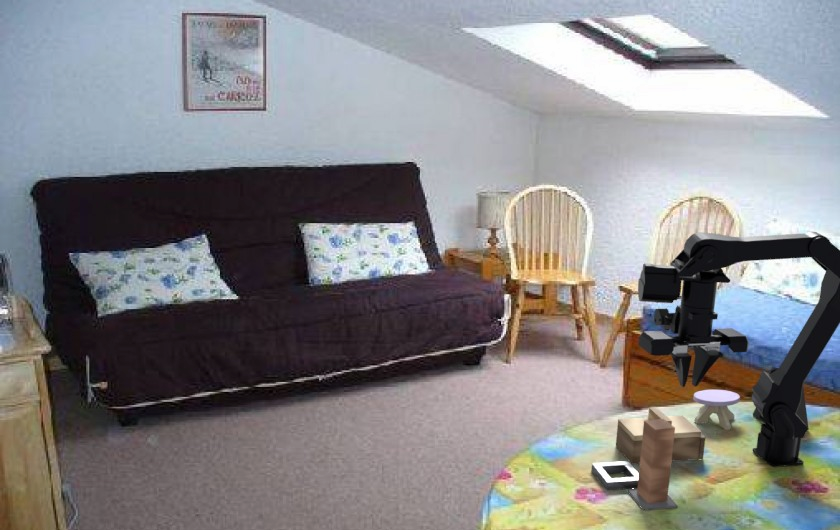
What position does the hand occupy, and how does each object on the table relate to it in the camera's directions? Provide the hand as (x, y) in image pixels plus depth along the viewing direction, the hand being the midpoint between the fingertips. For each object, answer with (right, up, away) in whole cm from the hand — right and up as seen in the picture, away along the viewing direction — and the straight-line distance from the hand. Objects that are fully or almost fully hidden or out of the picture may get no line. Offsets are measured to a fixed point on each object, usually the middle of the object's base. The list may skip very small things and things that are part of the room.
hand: (688, 385), depth 143 cm
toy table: (+11, -10, +17) cm, 22 cm away
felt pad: (-11, -16, -14) cm, 24 cm away
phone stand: (+24, -10, +16) cm, 31 cm away
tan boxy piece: (-5, -13, +2) cm, 14 cm away
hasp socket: (-15, -15, -8) cm, 23 cm away
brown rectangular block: (-11, -16, -14) cm, 24 cm away
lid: (-5, -8, +1) cm, 10 cm away
